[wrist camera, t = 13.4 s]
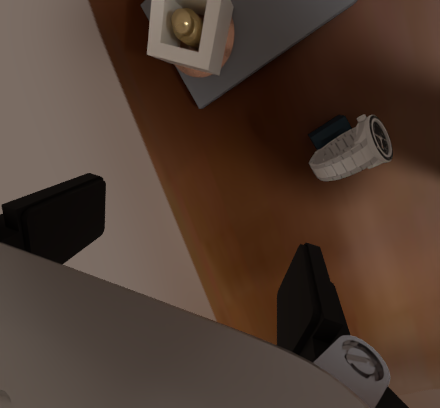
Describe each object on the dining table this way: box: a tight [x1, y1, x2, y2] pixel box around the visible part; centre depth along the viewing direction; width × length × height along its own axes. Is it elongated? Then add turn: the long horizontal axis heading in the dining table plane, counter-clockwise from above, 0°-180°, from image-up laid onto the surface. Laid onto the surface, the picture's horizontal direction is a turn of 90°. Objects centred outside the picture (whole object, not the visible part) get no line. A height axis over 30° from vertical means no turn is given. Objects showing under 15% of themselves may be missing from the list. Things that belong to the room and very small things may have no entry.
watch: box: [308, 114, 393, 181], centre depth 27 cm, size 6×8×11 cm
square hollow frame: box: [147, 0, 234, 76], centre depth 27 cm, size 7×7×6 cm
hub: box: [171, 8, 235, 78], centre depth 27 cm, size 9×9×6 cm
